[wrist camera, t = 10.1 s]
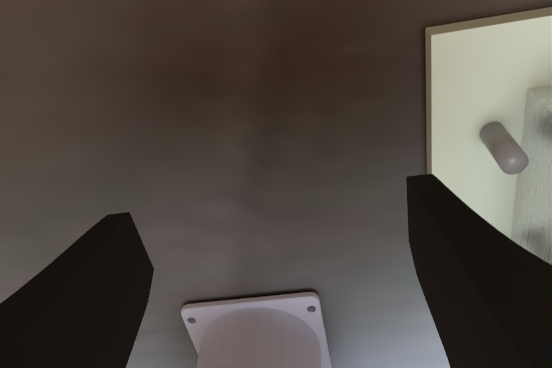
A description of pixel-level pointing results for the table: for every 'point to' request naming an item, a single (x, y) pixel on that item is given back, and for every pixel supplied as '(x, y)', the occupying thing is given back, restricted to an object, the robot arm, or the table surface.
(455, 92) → the peg board
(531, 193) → the block
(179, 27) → the table surface
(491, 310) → the robot arm
